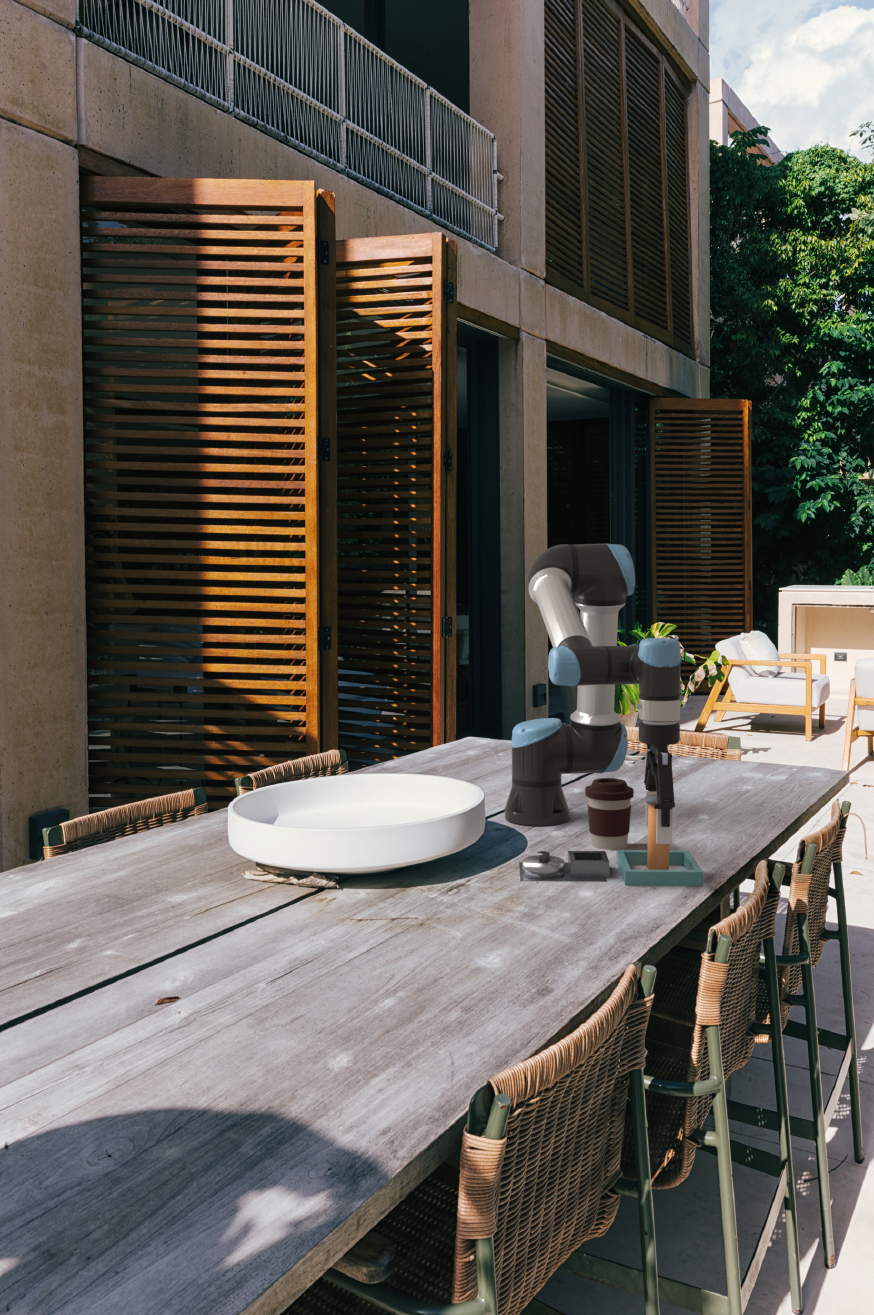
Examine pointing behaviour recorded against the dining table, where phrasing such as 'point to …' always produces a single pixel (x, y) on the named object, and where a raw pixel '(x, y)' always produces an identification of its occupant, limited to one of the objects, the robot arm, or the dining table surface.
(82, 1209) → the dining table surface
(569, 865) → the silver rectangular stand
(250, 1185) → the dining table surface
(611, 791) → the coffee cup
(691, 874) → the tray
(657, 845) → the pin
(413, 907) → the dining table surface
